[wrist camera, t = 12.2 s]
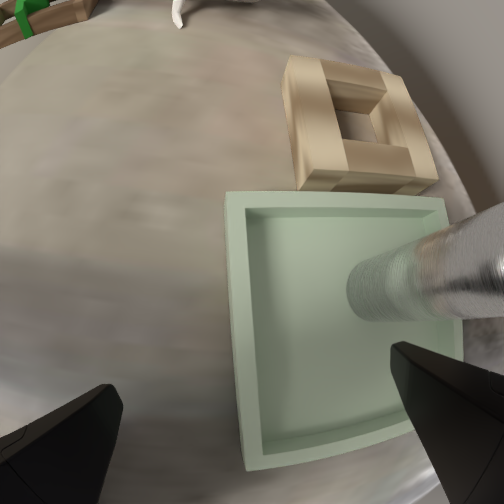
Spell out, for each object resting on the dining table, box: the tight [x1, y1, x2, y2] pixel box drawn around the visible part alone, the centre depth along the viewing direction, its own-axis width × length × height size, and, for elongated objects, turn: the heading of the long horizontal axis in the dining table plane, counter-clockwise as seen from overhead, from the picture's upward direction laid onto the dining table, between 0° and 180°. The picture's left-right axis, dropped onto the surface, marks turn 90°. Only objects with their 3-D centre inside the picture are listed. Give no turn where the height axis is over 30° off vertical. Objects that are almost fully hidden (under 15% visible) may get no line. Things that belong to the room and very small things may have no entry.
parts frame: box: [0, 0, 99, 49], centre depth 20 cm, size 10×18×3 cm, turn 94°
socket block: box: [281, 55, 439, 196], centre depth 20 cm, size 10×10×4 cm
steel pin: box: [346, 202, 504, 322], centre depth 13 cm, size 4×4×13 cm
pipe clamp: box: [14, 0, 50, 39], centre depth 19 cm, size 11×4×5 cm, turn 30°
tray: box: [224, 191, 463, 472], centre depth 18 cm, size 16×16×2 cm
